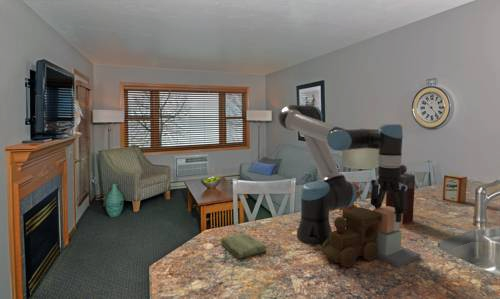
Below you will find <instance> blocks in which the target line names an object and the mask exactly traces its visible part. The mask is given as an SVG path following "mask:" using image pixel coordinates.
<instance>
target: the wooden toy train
mask: <svg viewBox="0 0 500 299" xmlns="http://www.w3.org/2000/svg"><path fill="white" fill-rule="evenodd" d="M379 222H382V214H380V213H378V212H375V211H373V210H372V209H369V208H366V207H365V208H364V207H358V208H352V209H347V210H344V211H343V210H342V216H337V217H336V218H335V219H334V220H333V224H334V227H335V229H336V230H332V232H330V234H329V238H328V239H327V240H325V242H324V244H322V248H321V249H322V251H321V252H322V253H321V254H322V255H324V256H325V257H327V258H329V259H331V260H332V261H334V262H335V263H340V264H341V266H342V268H350V267H353V265H354V264H355V263H356V260H357V258H358V257H361V256H362V258H363V259H364V260H365V261H369V262H370V261H373V260H374V259H376V258H377V257H376V256H377V253H378V247H377V242H376V239H377V234H378V223H379Z"/></svg>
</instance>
